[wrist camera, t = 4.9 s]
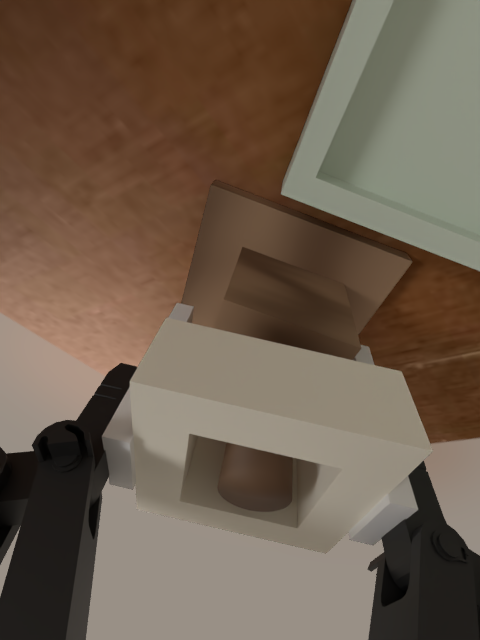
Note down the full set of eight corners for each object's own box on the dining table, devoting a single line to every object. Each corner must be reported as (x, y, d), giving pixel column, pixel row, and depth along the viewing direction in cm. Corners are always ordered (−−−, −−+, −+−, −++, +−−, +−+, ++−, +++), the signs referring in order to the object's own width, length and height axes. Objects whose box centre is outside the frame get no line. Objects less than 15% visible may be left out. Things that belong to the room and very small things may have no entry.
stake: (176, 332, 20) (85, 509, 12) (215, 179, 15) (91, 303, 6) (315, 380, 21) (329, 582, 12) (406, 253, 15) (560, 465, 6)
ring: (160, 446, 13) (137, 509, 11) (166, 317, 9) (129, 380, 7) (320, 483, 13) (326, 553, 11) (401, 371, 9) (433, 451, 7)
